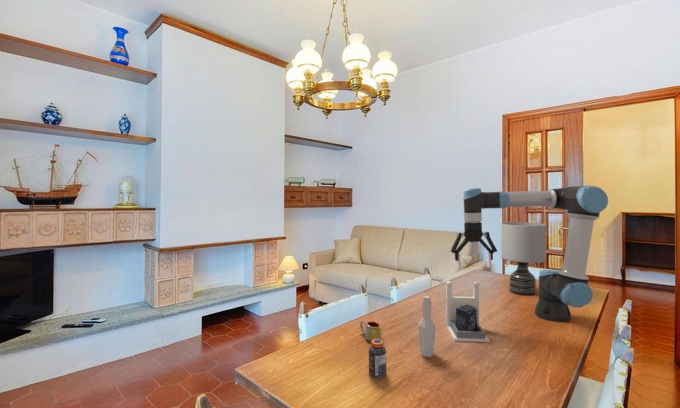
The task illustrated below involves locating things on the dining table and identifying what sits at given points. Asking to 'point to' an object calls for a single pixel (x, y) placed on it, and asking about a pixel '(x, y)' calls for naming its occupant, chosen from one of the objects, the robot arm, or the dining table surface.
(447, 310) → the white l-bracket
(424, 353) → the low poly bottle
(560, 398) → the dining table surface
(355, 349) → the dining table surface
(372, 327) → the mug
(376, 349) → the pill bottle
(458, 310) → the box
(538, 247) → the lamp
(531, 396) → the dining table surface
